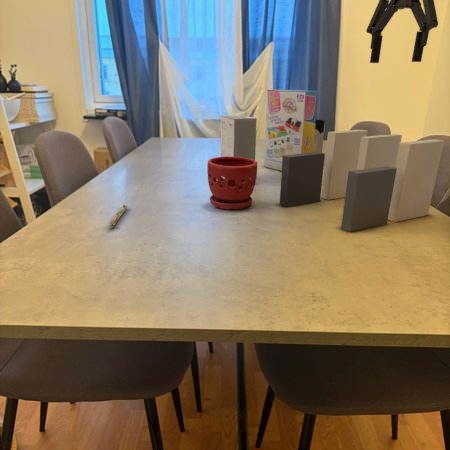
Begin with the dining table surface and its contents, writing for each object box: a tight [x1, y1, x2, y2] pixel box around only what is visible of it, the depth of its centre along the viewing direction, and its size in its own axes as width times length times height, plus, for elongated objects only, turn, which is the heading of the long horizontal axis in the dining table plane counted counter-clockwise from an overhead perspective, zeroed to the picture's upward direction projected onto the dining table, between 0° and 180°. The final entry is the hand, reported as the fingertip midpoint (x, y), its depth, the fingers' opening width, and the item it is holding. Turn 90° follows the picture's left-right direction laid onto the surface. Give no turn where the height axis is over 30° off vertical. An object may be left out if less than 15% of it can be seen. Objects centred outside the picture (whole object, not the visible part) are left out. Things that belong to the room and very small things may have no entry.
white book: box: [357, 133, 403, 170], centre depth 114 cm, size 2×12×18 cm, turn 120°
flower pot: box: [206, 156, 258, 210], centre depth 115 cm, size 13×13×12 cm
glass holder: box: [313, 119, 326, 153], centre depth 185 cm, size 9×14×15 cm, turn 145°
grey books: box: [279, 152, 397, 233], centre depth 108 cm, size 27×12×13 cm, turn 30°
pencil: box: [108, 204, 128, 230], centre depth 106 cm, size 1×1×18 cm
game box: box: [264, 89, 319, 172], centre depth 155 cm, size 21×6×27 cm, turn 34°
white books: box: [320, 129, 445, 223], centre depth 114 cm, size 27×12×18 cm, turn 30°
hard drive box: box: [220, 114, 258, 179], centre depth 142 cm, size 16×8×20 cm, turn 17°
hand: (394, 62), depth 115 cm, fingers open, 13 cm apart
